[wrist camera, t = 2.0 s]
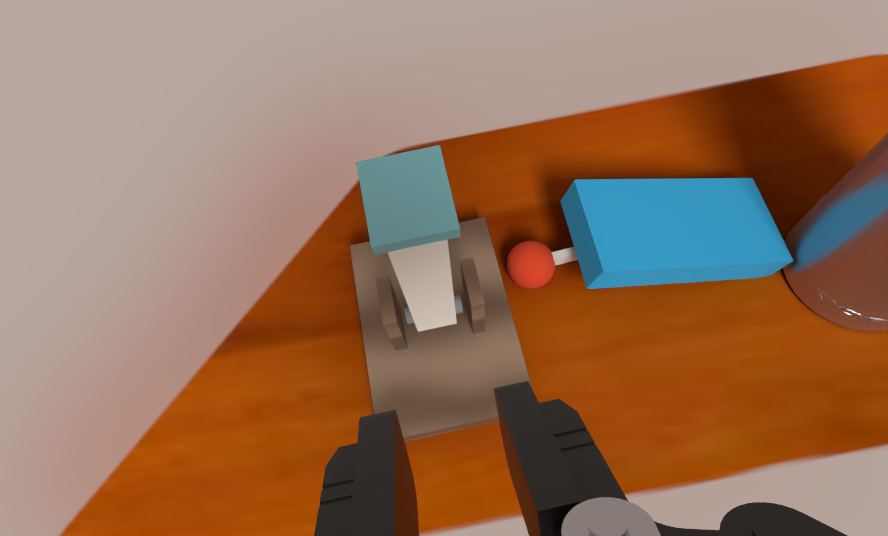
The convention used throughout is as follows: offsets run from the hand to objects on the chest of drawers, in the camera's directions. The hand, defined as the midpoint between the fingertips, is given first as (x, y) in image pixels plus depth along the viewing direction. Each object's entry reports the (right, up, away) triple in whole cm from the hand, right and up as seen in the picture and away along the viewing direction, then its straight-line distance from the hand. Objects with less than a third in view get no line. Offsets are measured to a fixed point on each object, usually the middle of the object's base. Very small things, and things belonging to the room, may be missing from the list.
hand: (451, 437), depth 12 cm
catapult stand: (-1, -1, +27) cm, 27 cm away
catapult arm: (-1, +1, +24) cm, 24 cm away
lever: (+14, +4, +29) cm, 33 cm away
